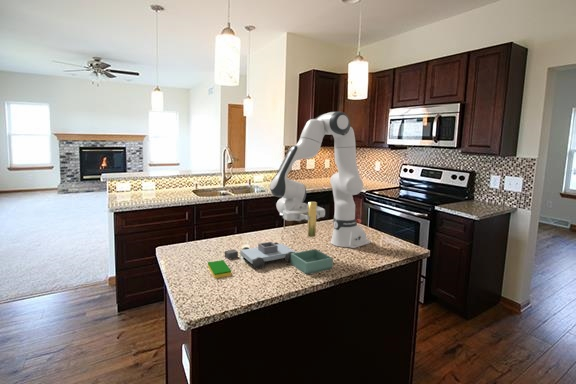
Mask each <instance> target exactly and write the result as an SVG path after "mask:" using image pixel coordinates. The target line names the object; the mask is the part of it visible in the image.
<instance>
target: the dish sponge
mask: <svg viewBox="0 0 576 384" xmlns="http://www.w3.org/2000/svg"><path fill="white" fill-rule="evenodd" d="M207 268H208V270H209V271H210V273H211V275H212V277H213V279H218V278H224V277H230V276H232V270H231V268H230V267H229V266H228V264H227V263H226V262H225V260H224V259H221V260H213V261H208V262H207Z"/></svg>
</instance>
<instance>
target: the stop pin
mask: <svg viewBox="0 0 576 384" xmlns="http://www.w3.org/2000/svg"><path fill="white" fill-rule="evenodd" d="M307 203H308V216H310V220H307V237H309V238H314V237H316V236H317V219H316V211H317V206H318V202H316V201H308V202H307Z"/></svg>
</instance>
